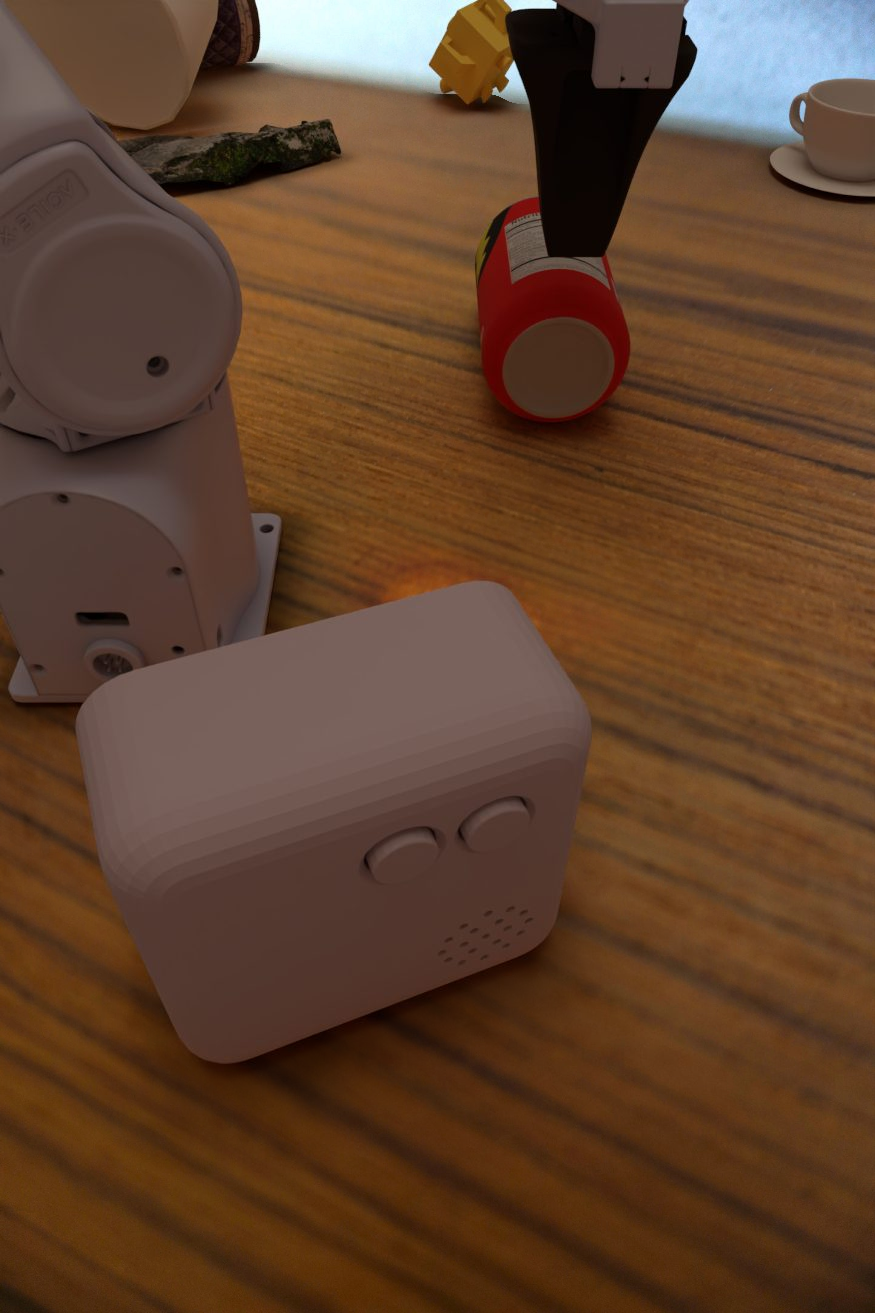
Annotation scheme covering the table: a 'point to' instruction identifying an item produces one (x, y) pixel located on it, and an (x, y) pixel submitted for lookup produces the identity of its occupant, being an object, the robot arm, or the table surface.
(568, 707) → the electronic device
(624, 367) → the beverage can
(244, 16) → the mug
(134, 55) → the cup
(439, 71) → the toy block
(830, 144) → the teacup
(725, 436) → the table surface
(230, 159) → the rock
